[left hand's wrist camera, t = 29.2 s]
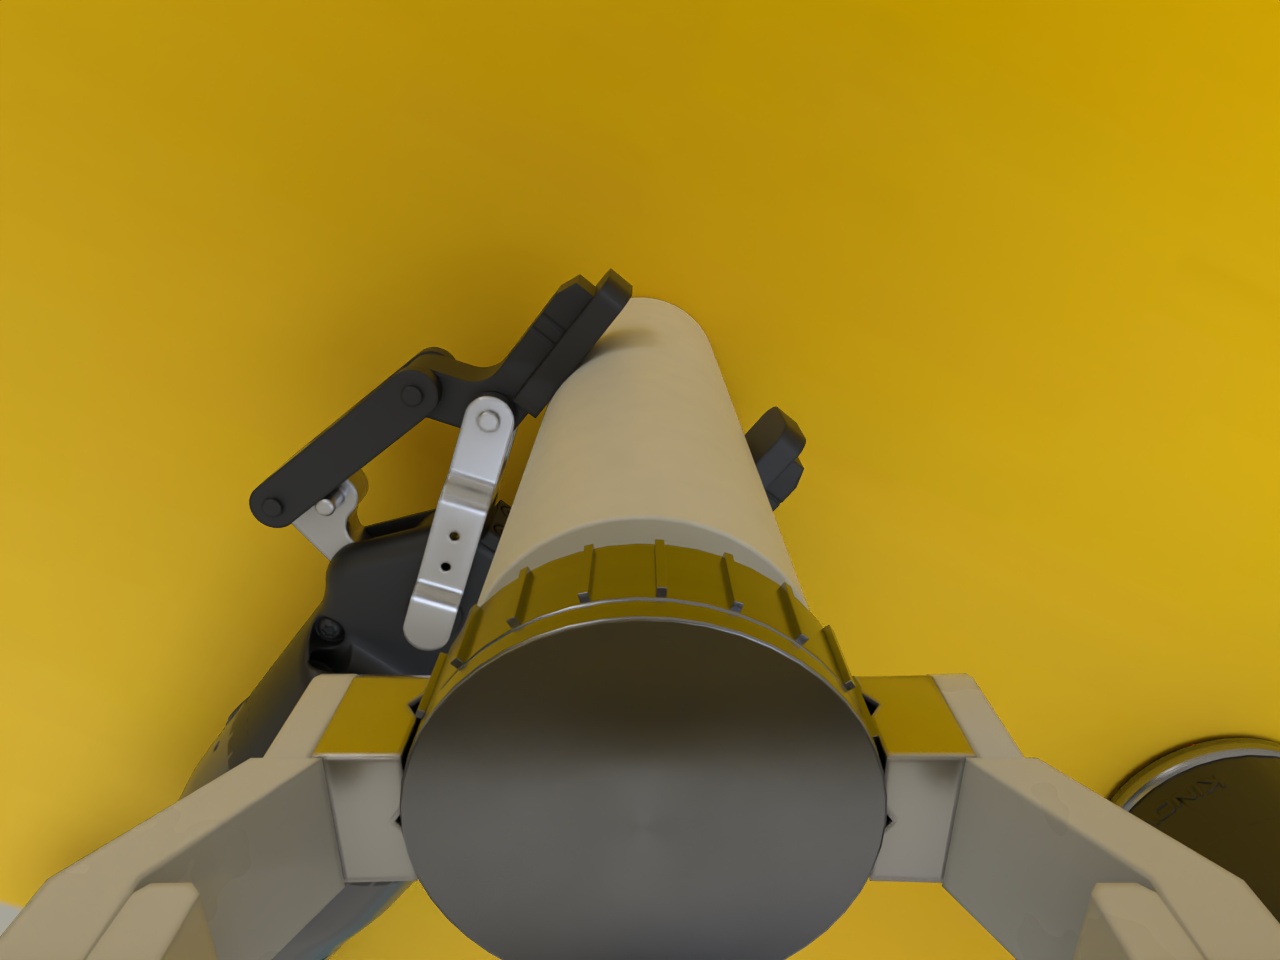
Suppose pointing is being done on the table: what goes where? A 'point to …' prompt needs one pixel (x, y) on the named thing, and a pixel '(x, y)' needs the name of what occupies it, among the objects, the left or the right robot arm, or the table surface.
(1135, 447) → the table surface
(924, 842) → the left robot arm
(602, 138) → the table surface
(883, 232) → the table surface
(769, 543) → the cream cylinder
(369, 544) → the right robot arm
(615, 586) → the lid
